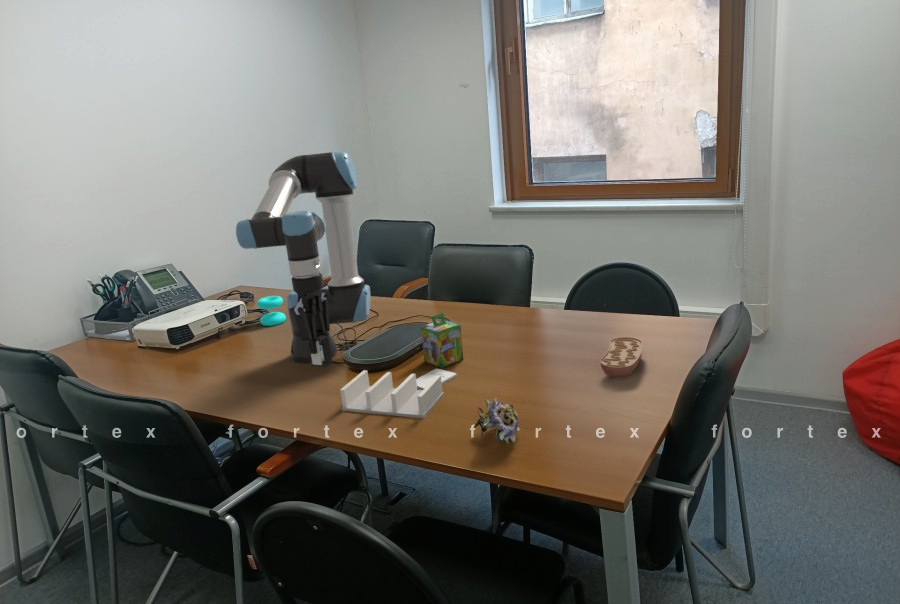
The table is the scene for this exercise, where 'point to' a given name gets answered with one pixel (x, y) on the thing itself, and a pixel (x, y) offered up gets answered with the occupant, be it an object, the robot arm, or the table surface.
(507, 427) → the passion flower
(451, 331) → the chalk box
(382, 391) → the divider rack
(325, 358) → the ink cartridge
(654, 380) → the table surface
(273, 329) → the table surface
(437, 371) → the external hard drive
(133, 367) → the table surface
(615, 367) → the anatomical model
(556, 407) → the table surface
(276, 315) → the donuts
